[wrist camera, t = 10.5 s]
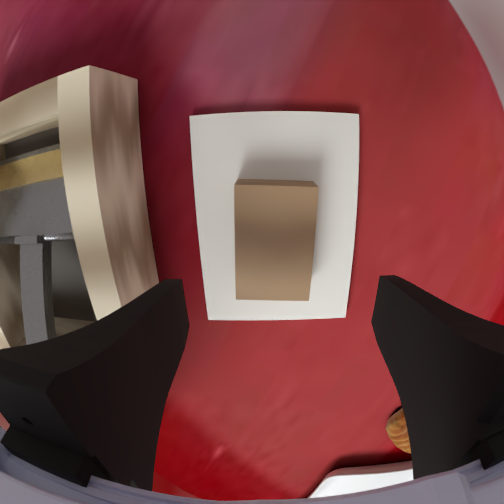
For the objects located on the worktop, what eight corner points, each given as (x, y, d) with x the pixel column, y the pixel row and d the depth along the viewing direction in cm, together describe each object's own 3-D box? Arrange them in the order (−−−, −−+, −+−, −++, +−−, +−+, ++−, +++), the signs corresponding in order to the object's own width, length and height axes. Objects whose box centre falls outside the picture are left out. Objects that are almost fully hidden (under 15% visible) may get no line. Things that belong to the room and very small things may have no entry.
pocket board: (172, 343, 24) (151, 397, 18) (39, 328, 24) (8, 364, 19) (137, 79, 16) (89, 65, 10) (-8, 127, 17) (-57, 137, 11)
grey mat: (343, 312, 22) (345, 317, 21) (209, 315, 22) (208, 319, 22) (356, 114, 16) (358, 114, 16) (191, 116, 17) (189, 116, 16)
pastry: (368, 424, 28) (376, 451, 24) (416, 389, 26) (428, 416, 22) (407, 440, 30) (415, 462, 26) (448, 411, 28) (459, 432, 24)
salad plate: (326, 457, 31) (329, 478, 28) (448, 444, 32) (455, 460, 28) (284, 505, 39) (285, 520, 36) (386, 497, 40) (389, 511, 37)
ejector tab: (102, 359, 17) (89, 367, 15) (6, 340, 17) (-7, 343, 15) (103, 140, 17) (90, 131, 15) (8, 164, 17) (-5, 159, 16)
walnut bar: (305, 285, 20) (308, 301, 18) (238, 283, 20) (235, 299, 19) (313, 181, 18) (318, 187, 16) (237, 179, 18) (234, 184, 16)
